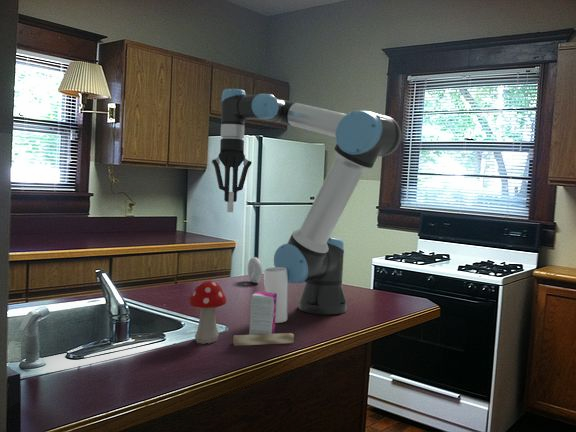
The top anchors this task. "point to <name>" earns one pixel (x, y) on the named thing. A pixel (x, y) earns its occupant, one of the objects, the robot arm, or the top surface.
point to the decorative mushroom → (207, 310)
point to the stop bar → (263, 339)
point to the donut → (255, 270)
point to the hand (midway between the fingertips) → (230, 211)
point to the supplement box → (263, 313)
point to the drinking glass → (278, 290)
